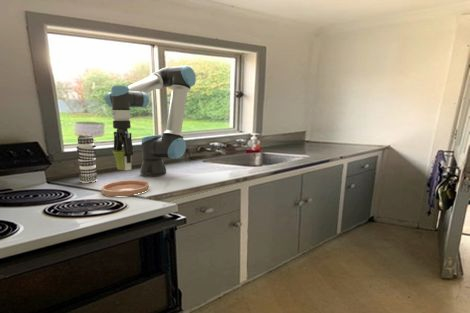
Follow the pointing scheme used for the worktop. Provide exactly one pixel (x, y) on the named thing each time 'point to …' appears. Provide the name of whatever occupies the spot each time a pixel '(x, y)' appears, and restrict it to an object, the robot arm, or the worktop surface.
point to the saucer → (125, 188)
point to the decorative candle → (87, 158)
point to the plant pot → (120, 159)
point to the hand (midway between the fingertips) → (124, 168)
